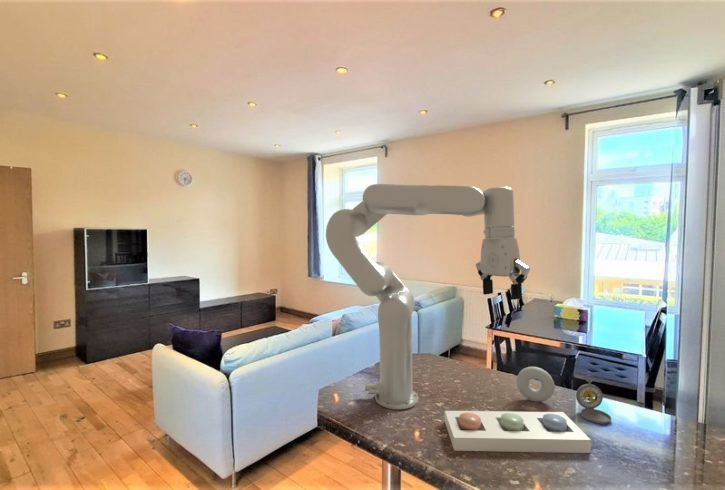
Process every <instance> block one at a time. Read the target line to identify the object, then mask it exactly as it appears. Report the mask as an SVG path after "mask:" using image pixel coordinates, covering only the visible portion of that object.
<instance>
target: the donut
mask: <svg viewBox="0 0 725 490" xmlns="http://www.w3.org/2000/svg"><path fill="white" fill-rule="evenodd" d="M534 379H535V380H538V382H540V383H541V386H540V388H538V389H535V388H532V387H531V385H530V381H531V380H534ZM516 386H517V389H518V391H519V393H520V394H521V395H522V396H523V397H524V398H525V399H527V400H528V401H532V402H535V403H542V402H546V401H548V400H549V399H551V398H552V396H553V395H554V392H555V388H556V387H555V386H556V385H555V382H554V379H553V378H552V375H551V374H549V372H547V371H546V370H544V369H543V368H541V367H538V366H528V367H524V368H522V369H521V370H520V371H519V373H518V375H517V377H516Z"/></svg>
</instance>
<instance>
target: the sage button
mask: <svg viewBox="0 0 725 490" xmlns="http://www.w3.org/2000/svg"><path fill="white" fill-rule="evenodd" d="M501 426H502V428H503V430H504V431H523V418H522V417H520V416H519V415H516V414H512V413H505V414H502V415H501Z"/></svg>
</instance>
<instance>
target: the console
mask: <svg viewBox="0 0 725 490" xmlns="http://www.w3.org/2000/svg"><path fill="white" fill-rule="evenodd" d="M462 413H473V414H476V415H478V416H479V417H480V418H481V429H480V430H479V431H471V430H463V429H462V428H461V427H460V426H459V416H460V414H462ZM505 413H512V414H516V415H519V416H520V417H522V418H523V431H507V430H504V429H503V428H502V426H501V415H502V414H505ZM545 414H556V415H559V416H562V417H563V418H565V419H566V421H567V431H566V432H551V431H549V430H547V429H545V428H544V426H543V415H545ZM444 424H445V427H446V430H447V433H448V437H449V439H450V442H451V444H452V448H453V451H455V452H456V451H458V452H460V451H461V452H463V451H465V452H468V451H469V452H508V453H509V452H515V453H517V452H518V453H522V452H523V453H568V454H569V453H572V454H579V453H580V454H585V453H586V454H591V453H592V452H591V451H592V450H591V449H592V447H591V446H592V445H591V444H592V440H591V438H590V437H588V436H587V434H586V433H585V432H584V431H583V430H582V429H581V428H580V427H578V425H576V423H575V422H574V421H573V420H572V419H571V418H570V417H569V416H568V415H567V414H566V413H565V412H564V411H505V410H504V411H503V410H502V411H501V410H500V411H498V410H495V411H494V410H493V411H491V410H489V411H488V410H444Z"/></svg>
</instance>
